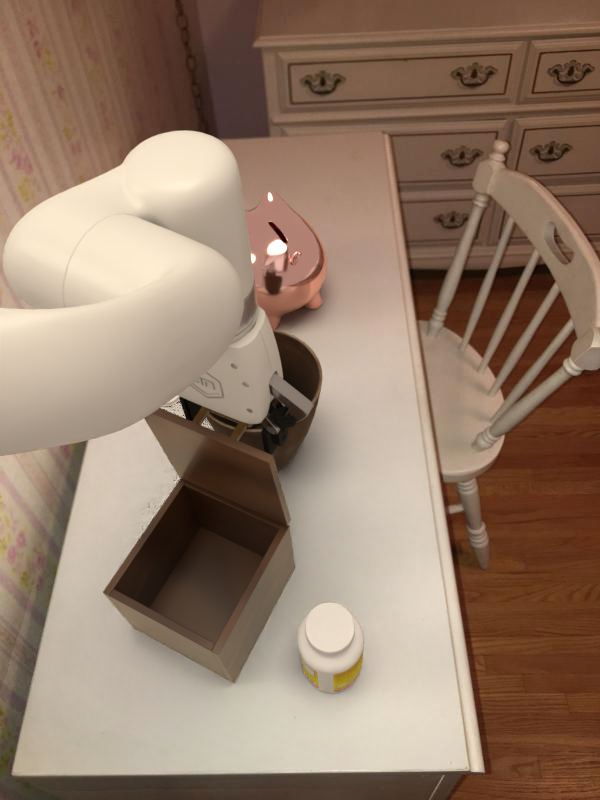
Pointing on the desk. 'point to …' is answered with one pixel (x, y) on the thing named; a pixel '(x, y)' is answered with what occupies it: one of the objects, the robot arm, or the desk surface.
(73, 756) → the desk surface
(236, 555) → the chest
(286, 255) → the piggy bank
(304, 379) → the flower pot
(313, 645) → the supplement bottle
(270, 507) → the brown wooden box lid
